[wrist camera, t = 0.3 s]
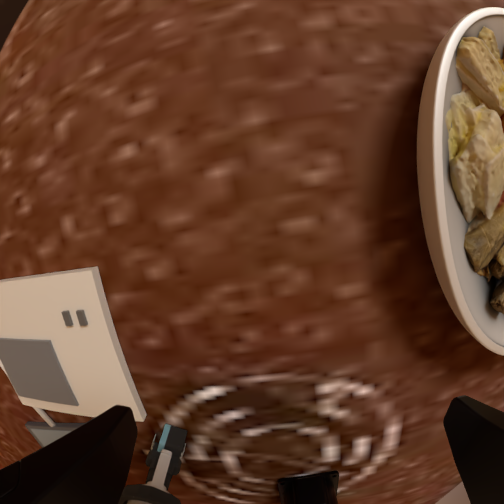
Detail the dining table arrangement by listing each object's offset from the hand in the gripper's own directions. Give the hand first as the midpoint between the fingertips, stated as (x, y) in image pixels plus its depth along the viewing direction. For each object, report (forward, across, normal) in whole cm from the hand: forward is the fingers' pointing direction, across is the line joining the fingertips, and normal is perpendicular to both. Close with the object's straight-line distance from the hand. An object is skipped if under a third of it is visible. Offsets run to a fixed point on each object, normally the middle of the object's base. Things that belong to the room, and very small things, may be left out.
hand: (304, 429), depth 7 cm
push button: (+15, +9, +18) cm, 25 cm away
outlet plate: (+14, +20, +8) cm, 25 cm away
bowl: (+15, -23, -9) cm, 29 cm away
